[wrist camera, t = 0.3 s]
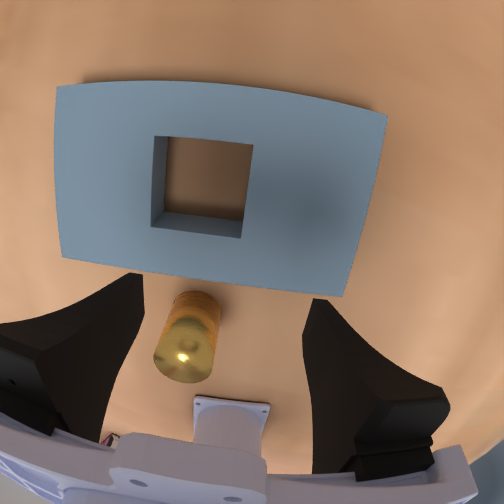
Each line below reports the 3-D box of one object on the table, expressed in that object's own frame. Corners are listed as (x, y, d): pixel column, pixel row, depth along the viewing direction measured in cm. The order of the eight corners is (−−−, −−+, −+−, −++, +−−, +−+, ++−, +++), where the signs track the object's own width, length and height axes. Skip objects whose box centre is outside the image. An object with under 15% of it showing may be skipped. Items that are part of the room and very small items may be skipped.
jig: (333, 274, 23) (341, 296, 20) (80, 240, 22) (62, 257, 20) (370, 114, 18) (387, 115, 15) (80, 86, 17) (56, 86, 14)
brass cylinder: (219, 333, 26) (210, 387, 20) (173, 326, 26) (155, 377, 20) (223, 294, 24) (213, 347, 19) (173, 287, 24) (151, 337, 18)
